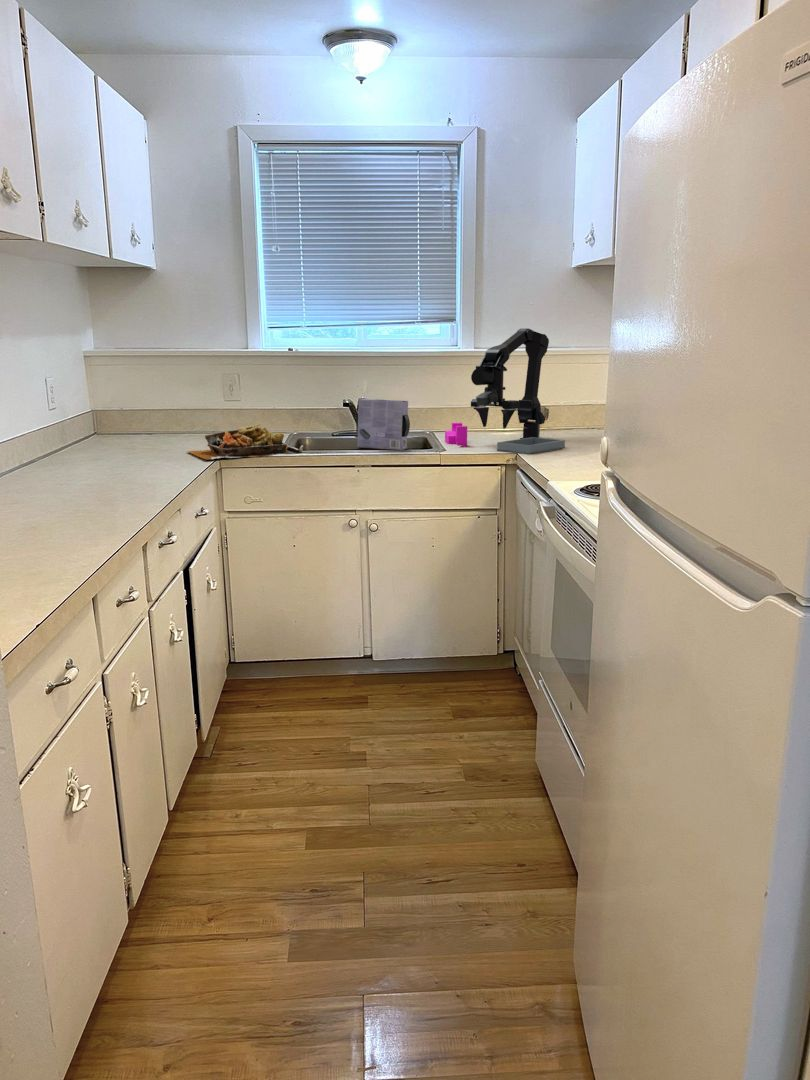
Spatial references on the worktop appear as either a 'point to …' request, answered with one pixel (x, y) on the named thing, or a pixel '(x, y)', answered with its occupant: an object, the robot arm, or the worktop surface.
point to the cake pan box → (383, 424)
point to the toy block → (457, 435)
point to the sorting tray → (530, 445)
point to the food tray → (244, 444)
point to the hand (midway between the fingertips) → (494, 427)
